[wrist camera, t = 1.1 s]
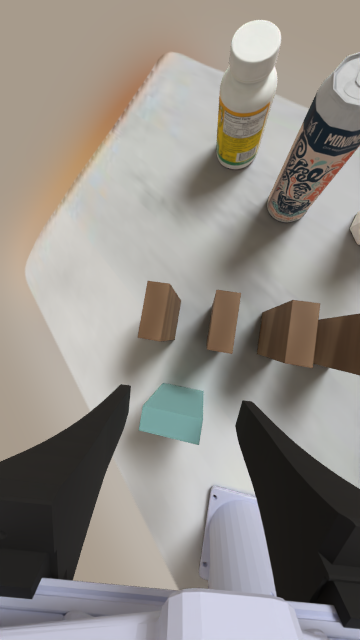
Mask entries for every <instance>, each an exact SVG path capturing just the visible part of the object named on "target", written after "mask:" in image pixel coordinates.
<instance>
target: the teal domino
mask: <svg viewBox="0 0 360 640" xmlns="http://www.w3.org/2000/svg"><path fill="white" fill-rule="evenodd" d="M202 421H203V391H200V390H195V389H190V388H186V387H181V386H176V385H171V384H166V383H163V384H162V385H161V386H160V387H159V388H158V389H157V391H156V392H155V393H154V394H153V395H152V396H151V397H150V398H149V400H148V401H147V402H146V403H145V404H144V405H143V409H142V414H141V420H140V426H139V430H140V431H144V432H148V433H152V434H156V435H160V436H164V437H168V438H172V439H176V440H180V441H184V442H189V443H193V444H197V445H199V441H200V435H201V428H202Z"/></svg>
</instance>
